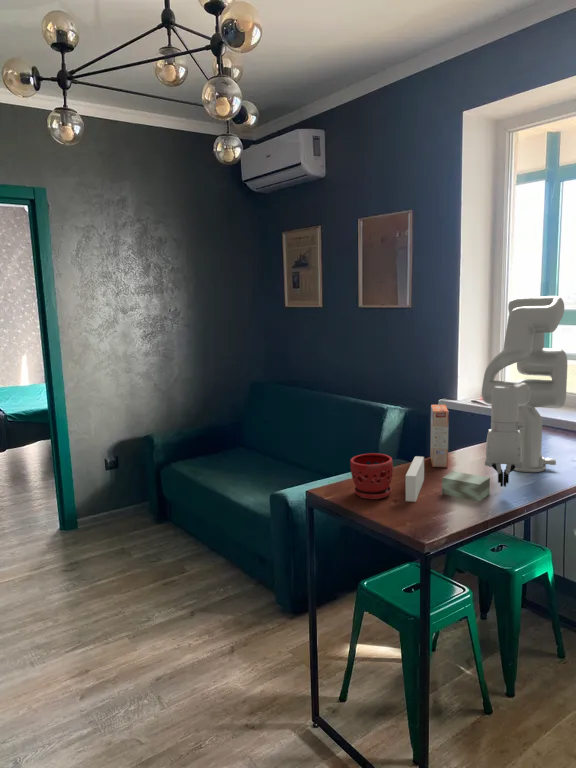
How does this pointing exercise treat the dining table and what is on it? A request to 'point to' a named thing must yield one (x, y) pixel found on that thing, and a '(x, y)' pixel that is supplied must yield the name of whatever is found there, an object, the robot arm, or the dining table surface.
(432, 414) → the cracker box
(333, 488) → the dining table surface
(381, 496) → the plant pot
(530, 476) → the dining table surface
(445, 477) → the block
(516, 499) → the dining table surface
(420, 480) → the board
